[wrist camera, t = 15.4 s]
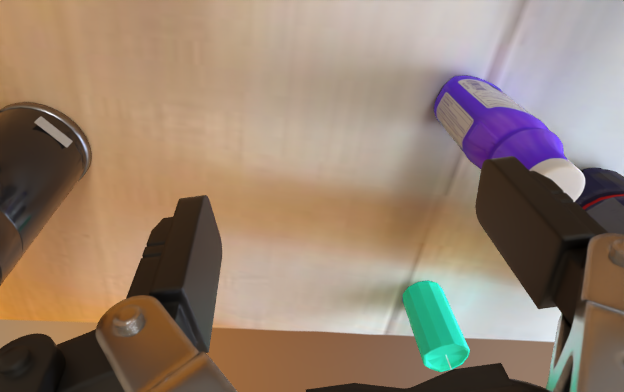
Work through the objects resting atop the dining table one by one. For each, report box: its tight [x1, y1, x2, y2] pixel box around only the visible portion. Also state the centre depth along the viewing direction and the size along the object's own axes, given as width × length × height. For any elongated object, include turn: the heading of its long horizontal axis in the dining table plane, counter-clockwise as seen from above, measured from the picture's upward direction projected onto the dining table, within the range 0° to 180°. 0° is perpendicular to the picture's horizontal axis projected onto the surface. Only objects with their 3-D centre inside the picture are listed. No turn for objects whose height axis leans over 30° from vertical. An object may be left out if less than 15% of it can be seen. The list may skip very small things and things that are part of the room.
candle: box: [403, 281, 470, 372], centre depth 55 cm, size 6×6×12 cm
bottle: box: [434, 76, 585, 202], centre depth 36 cm, size 7×6×17 cm
